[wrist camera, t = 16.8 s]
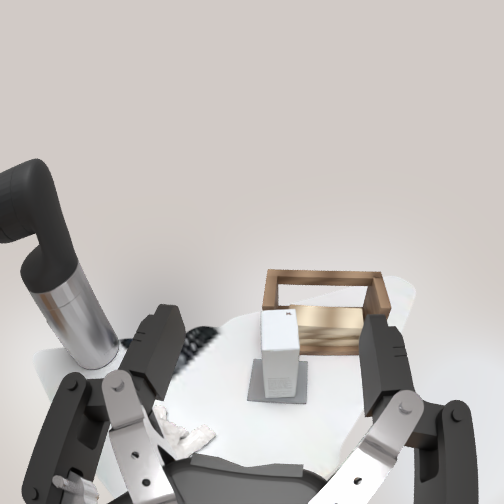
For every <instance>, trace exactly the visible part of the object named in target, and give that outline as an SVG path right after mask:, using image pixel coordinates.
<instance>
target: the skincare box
mask: <svg viewBox="0 0 504 504" xmlns="http://www.w3.org/2000/svg"><path fill="white" fill-rule="evenodd" d="M261 352H262V365H263V378H264V390H265V398H282V397H295V394H296V384H297V375H298V365H299V353H300V344H299V334H298V324H297V316H296V310H295V309H285V310H265V311H261Z"/></svg>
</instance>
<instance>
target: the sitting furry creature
mask: <svg viewBox="0 0 504 504" xmlns="http://www.w3.org/2000/svg"><path fill="white" fill-rule="evenodd" d="M154 410H155V412H156V415H157V417H158V419H159V422H160V424H161V427H162V429H163V431H164V434H165V436H166V438H167V440H168V442H169V444H170V445H171V447H172V448H173V450H174V451H175V453H176V455H177V457H178V459H179V460H180V459H183V458H188V457H189V456H190V455H191V454H193V453H194V452H196V451H197V450H200V448H202V447H203V446H204V445H205V444H207V443H208V442H209V441H210V440H211V439H213V438H214V436H215V435H216V433H215V432H214V431H213V430H210V428H209V427H208V426H206V425H202V426H200V427H198V428H196V429H194V430H193V431H192V432H191V433H190V434H189V432H188V431H187V430H186V429H185V428H183V427H178V426H176V424H173V422H169V421H167V420H166V419H167V417H166V408H165V407H164V406H161V405H159V406H157V405H155V407H154ZM180 439H181V440H180Z"/></svg>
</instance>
